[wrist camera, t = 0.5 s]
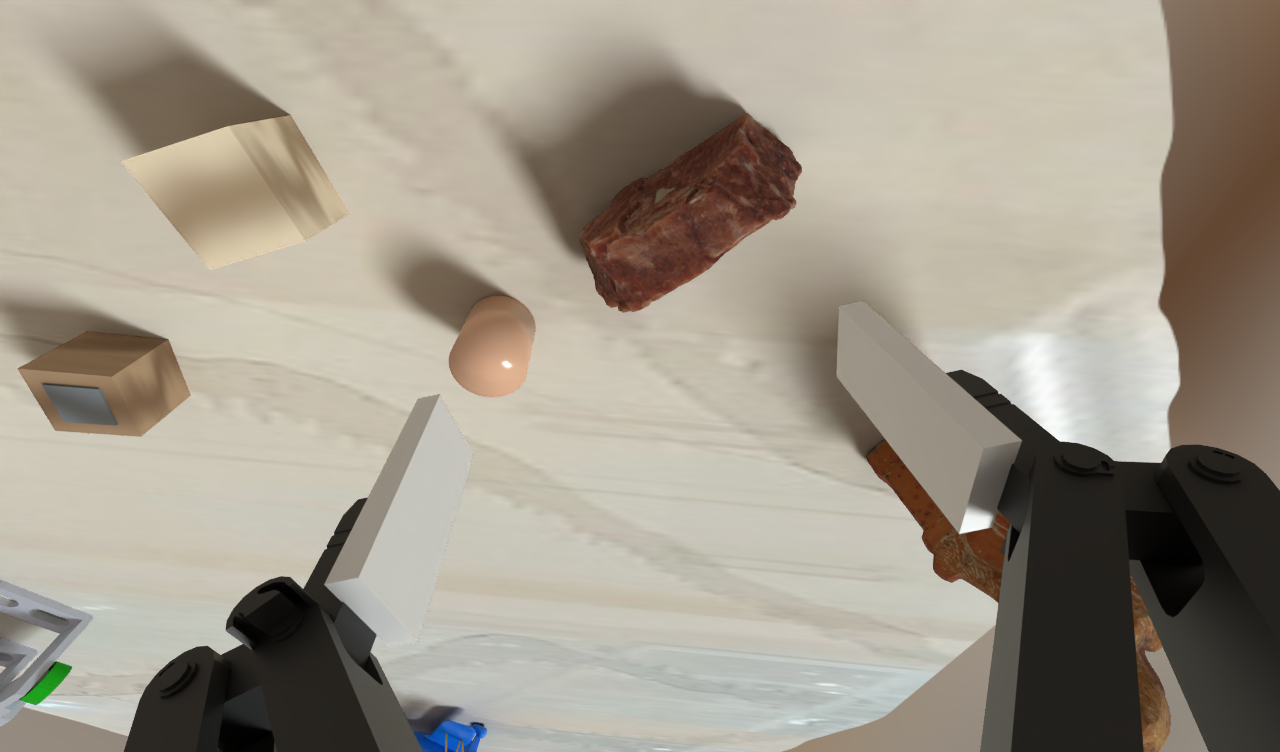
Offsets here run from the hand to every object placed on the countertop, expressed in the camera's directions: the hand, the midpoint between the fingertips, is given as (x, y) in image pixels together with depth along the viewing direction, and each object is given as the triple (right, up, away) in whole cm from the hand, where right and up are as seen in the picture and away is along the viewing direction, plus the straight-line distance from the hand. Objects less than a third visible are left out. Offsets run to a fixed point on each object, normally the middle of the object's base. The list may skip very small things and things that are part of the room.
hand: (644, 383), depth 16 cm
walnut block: (-45, +1, +27) cm, 52 cm away
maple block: (-27, +15, +20) cm, 37 cm away
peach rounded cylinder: (-13, +5, +28) cm, 31 cm away
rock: (+3, +15, +23) cm, 28 cm away
